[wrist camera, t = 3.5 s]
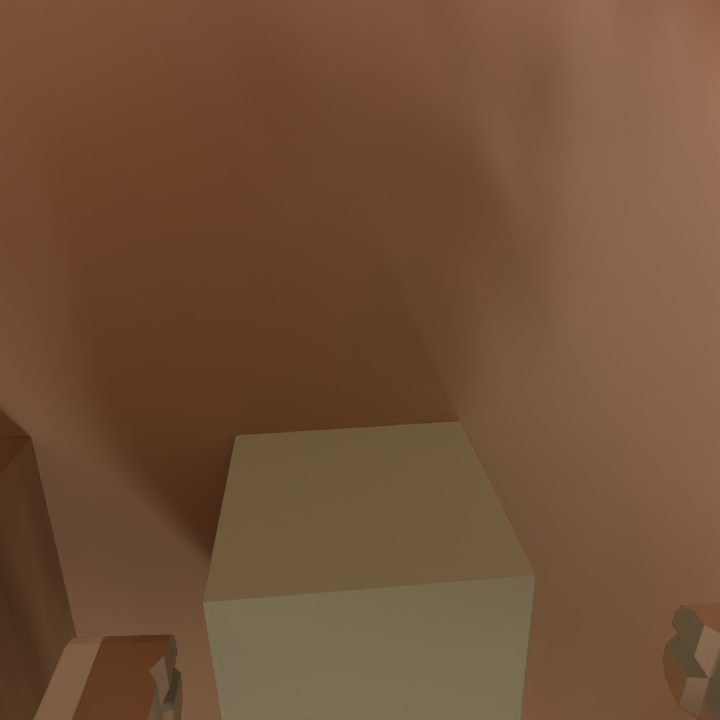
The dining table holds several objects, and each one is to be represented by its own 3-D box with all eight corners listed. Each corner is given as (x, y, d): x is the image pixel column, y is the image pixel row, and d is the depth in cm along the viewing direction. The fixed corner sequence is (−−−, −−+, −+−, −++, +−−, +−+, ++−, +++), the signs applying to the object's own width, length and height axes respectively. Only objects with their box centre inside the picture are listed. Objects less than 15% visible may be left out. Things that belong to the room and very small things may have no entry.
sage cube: (459, 419, 14) (536, 575, 9) (453, 590, 16) (512, 789, 11) (236, 433, 14) (203, 602, 9) (256, 607, 16) (237, 818, 11)
